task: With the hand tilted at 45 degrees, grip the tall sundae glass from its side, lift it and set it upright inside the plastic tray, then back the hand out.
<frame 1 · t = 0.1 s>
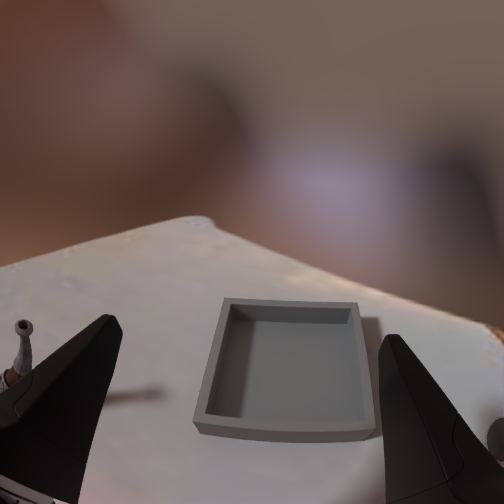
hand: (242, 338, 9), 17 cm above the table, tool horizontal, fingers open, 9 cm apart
sundae: (502, 439, 14), on the table
tray: (287, 374, 25), on the table
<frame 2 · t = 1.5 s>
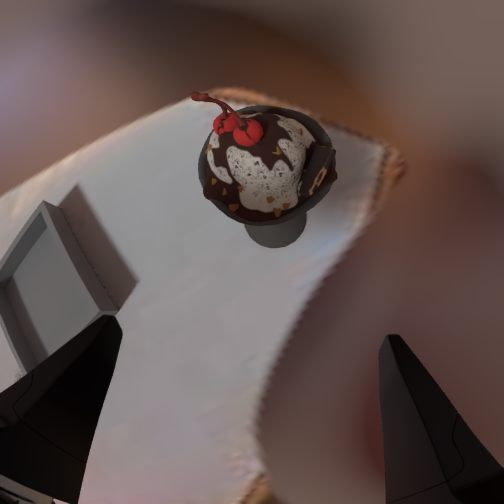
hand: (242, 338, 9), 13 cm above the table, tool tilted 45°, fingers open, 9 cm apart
sundae: (274, 218, 23), on the table
tray: (48, 297, 25), on the table
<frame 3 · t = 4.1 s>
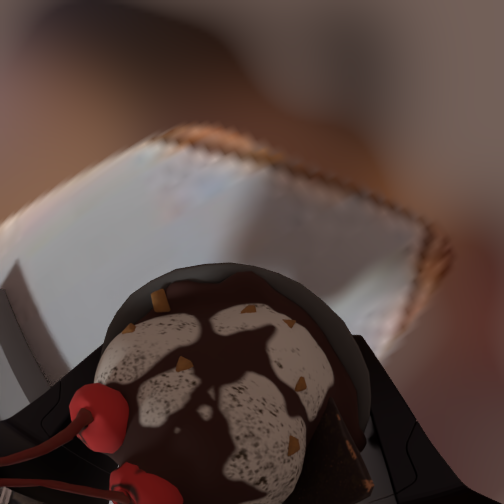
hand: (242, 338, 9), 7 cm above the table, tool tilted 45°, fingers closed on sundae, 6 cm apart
sundae: (260, 347, 16), on the table, touching gripper
tray: (7, 391, 17), on the table
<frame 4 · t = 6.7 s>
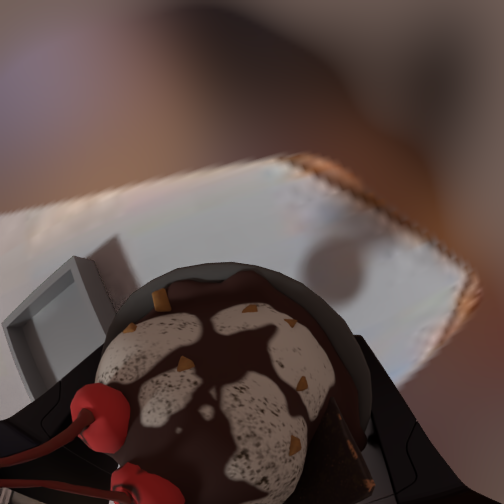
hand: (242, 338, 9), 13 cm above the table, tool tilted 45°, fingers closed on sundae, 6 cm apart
sundae: (260, 346, 16), point 5 cm above the table, touching gripper
tray: (75, 358, 22), on the table
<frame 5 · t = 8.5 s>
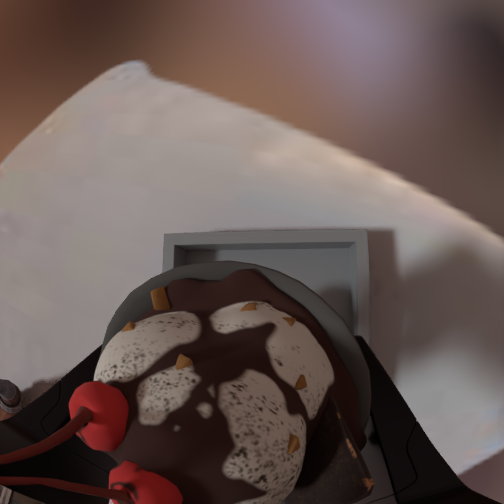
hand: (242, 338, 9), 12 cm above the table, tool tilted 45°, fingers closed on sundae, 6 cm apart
sundae: (260, 346, 16), point 5 cm above the table, touching gripper
drinking horn: (10, 410, 22), on the table
tray: (266, 332, 21), on the table
when the fingers open (9 cm above the table, at t = 9.7 s): sundae stays where it is, resting on tray.
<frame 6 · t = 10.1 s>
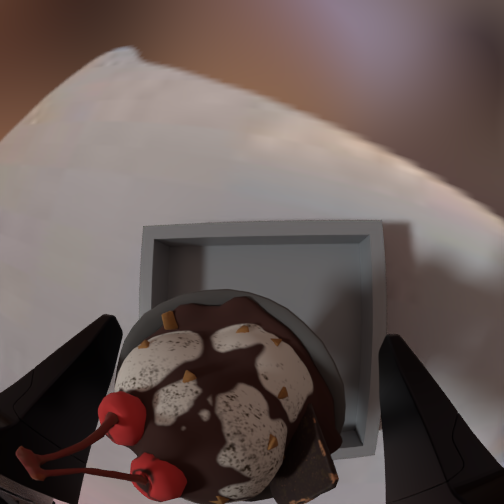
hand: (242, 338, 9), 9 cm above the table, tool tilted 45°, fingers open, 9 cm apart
sundae: (261, 348, 17), resting on tray
tray: (262, 343, 17), on the table
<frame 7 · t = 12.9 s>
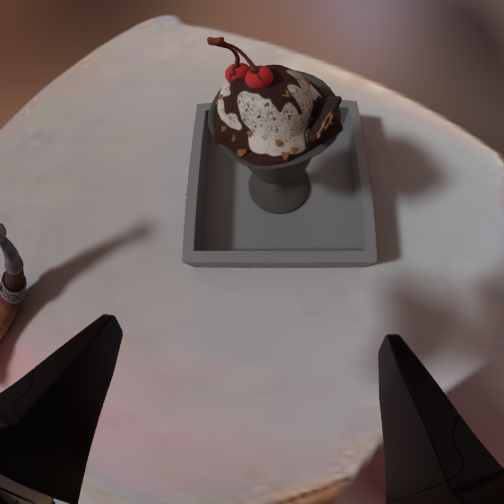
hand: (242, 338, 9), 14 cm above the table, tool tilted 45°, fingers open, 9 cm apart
sundae: (278, 186, 23), resting on tray
drinking horn: (7, 320, 25), on the table
tray: (279, 184, 24), on the table
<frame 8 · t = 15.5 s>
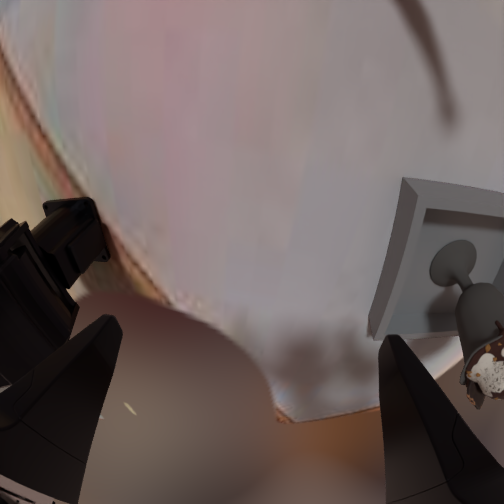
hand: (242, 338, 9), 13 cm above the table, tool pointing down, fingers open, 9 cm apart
sundae: (452, 261, 20), resting on tray
tray: (453, 259, 21), on the table
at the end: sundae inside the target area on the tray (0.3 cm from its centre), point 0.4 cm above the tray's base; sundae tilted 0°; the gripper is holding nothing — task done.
